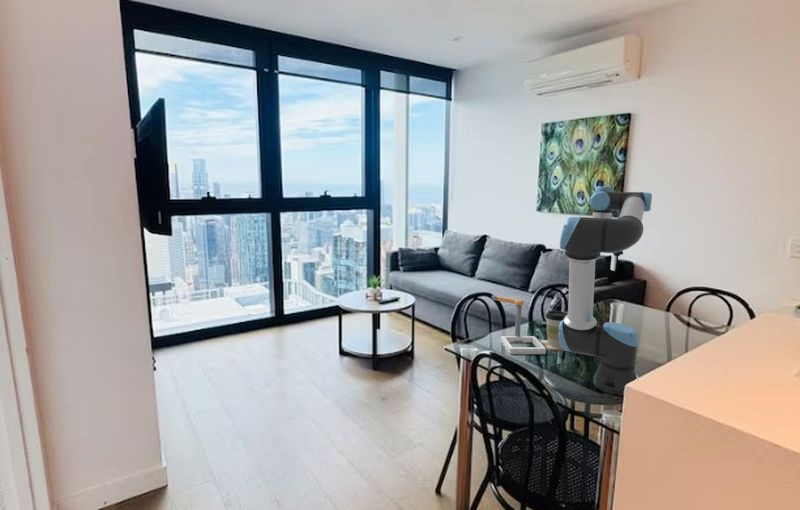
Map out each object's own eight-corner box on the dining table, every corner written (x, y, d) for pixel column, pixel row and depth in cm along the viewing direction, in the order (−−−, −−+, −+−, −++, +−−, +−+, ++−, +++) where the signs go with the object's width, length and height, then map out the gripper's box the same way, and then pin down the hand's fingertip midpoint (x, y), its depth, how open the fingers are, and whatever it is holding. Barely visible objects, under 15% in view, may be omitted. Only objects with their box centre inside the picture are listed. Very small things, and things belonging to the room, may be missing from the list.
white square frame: (545, 354, 199) (548, 315, 196) (509, 354, 198) (511, 315, 195) (532, 339, 217) (534, 304, 214) (499, 339, 216) (501, 304, 214)
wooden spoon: (490, 300, 219) (491, 296, 218) (494, 298, 222) (494, 294, 221) (521, 305, 209) (521, 302, 209) (524, 304, 212) (525, 300, 212)
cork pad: (575, 350, 203) (575, 349, 203) (549, 350, 203) (549, 349, 203) (565, 341, 215) (565, 340, 215) (540, 341, 214) (540, 340, 214)
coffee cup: (551, 349, 203) (554, 317, 200) (539, 341, 212) (541, 311, 209) (570, 347, 205) (573, 315, 203) (557, 340, 215) (560, 309, 212)
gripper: (625, 221, 200) (621, 268, 203) (569, 221, 199) (566, 268, 203) (634, 223, 192) (629, 271, 196) (577, 222, 192) (573, 271, 195)
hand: (597, 270), depth 199 cm, fingers open, 13 cm apart
